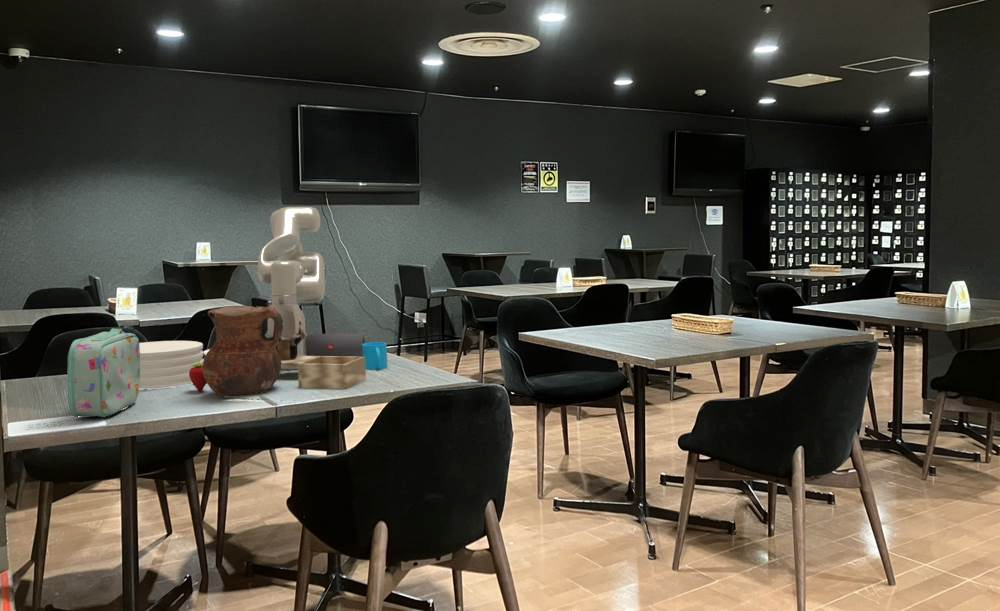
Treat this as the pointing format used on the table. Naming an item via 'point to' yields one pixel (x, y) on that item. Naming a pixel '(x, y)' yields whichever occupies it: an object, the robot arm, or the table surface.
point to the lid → (285, 355)
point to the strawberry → (197, 376)
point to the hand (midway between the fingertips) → (286, 357)
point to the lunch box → (103, 373)
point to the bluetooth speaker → (335, 345)
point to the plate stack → (168, 362)
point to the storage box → (331, 372)
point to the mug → (375, 355)
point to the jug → (243, 351)
